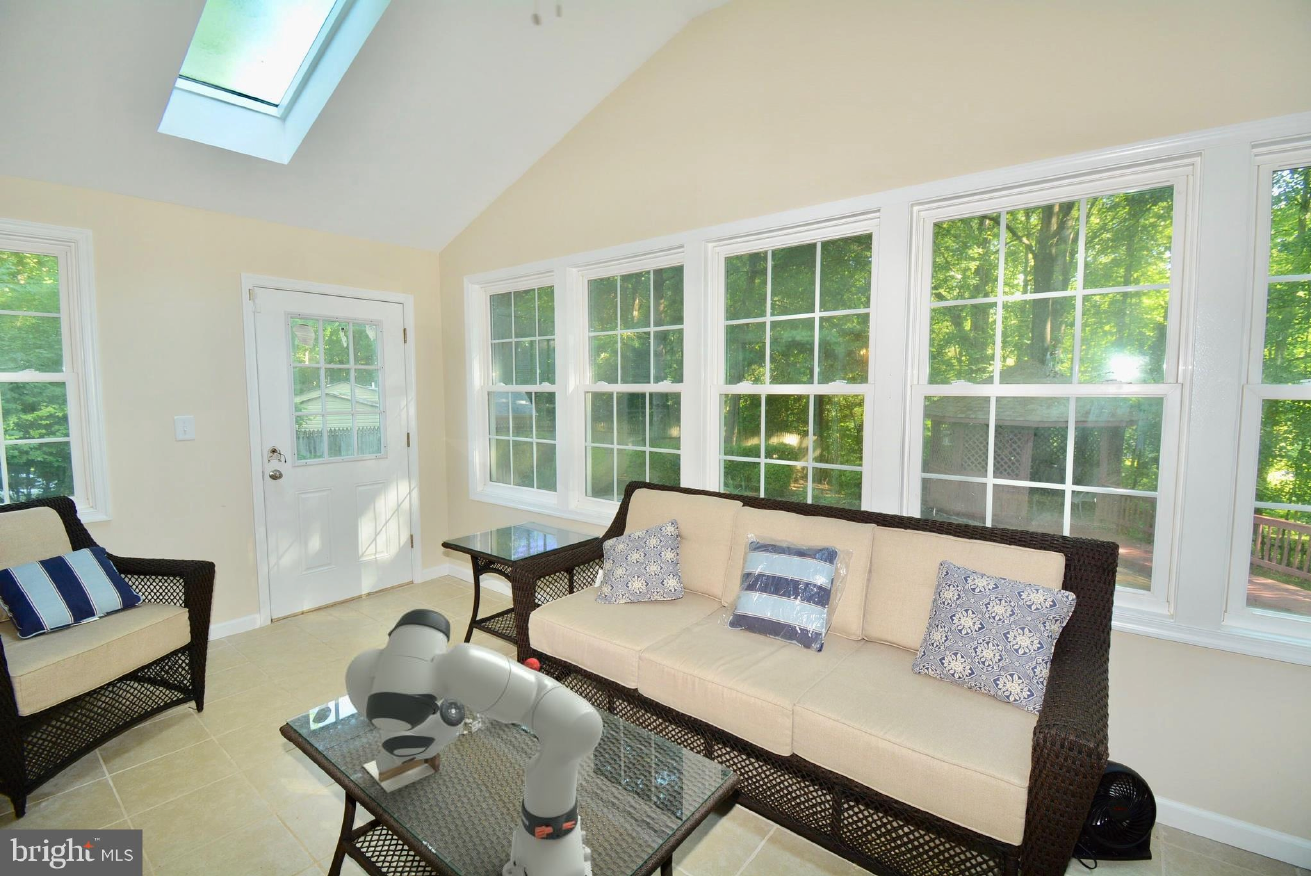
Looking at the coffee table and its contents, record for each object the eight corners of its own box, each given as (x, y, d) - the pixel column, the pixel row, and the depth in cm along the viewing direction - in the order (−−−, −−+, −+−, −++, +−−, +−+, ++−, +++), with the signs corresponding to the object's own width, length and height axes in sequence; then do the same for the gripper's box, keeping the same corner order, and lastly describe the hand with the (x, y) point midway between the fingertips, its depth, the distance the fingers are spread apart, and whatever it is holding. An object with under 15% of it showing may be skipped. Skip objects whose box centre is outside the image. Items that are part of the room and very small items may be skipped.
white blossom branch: (403, 748, 165) (404, 743, 165) (476, 715, 186) (477, 711, 186) (418, 758, 161) (418, 753, 161) (491, 723, 182) (491, 719, 182)
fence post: (441, 770, 158) (441, 753, 157) (434, 773, 156) (434, 756, 156) (429, 759, 162) (430, 743, 162) (422, 762, 160) (423, 746, 160)
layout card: (440, 769, 158) (440, 767, 158) (387, 792, 147) (387, 790, 147) (413, 746, 168) (414, 744, 168) (363, 766, 157) (363, 764, 157)
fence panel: (424, 763, 159) (425, 736, 158) (380, 782, 150) (381, 753, 150) (421, 761, 160) (422, 734, 159) (377, 779, 151) (378, 750, 151)
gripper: (461, 711, 157) (441, 732, 164) (384, 740, 142) (366, 761, 149) (470, 734, 154) (449, 754, 161) (392, 766, 139) (372, 787, 146)
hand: (408, 758), depth 155 cm, fingers closed
